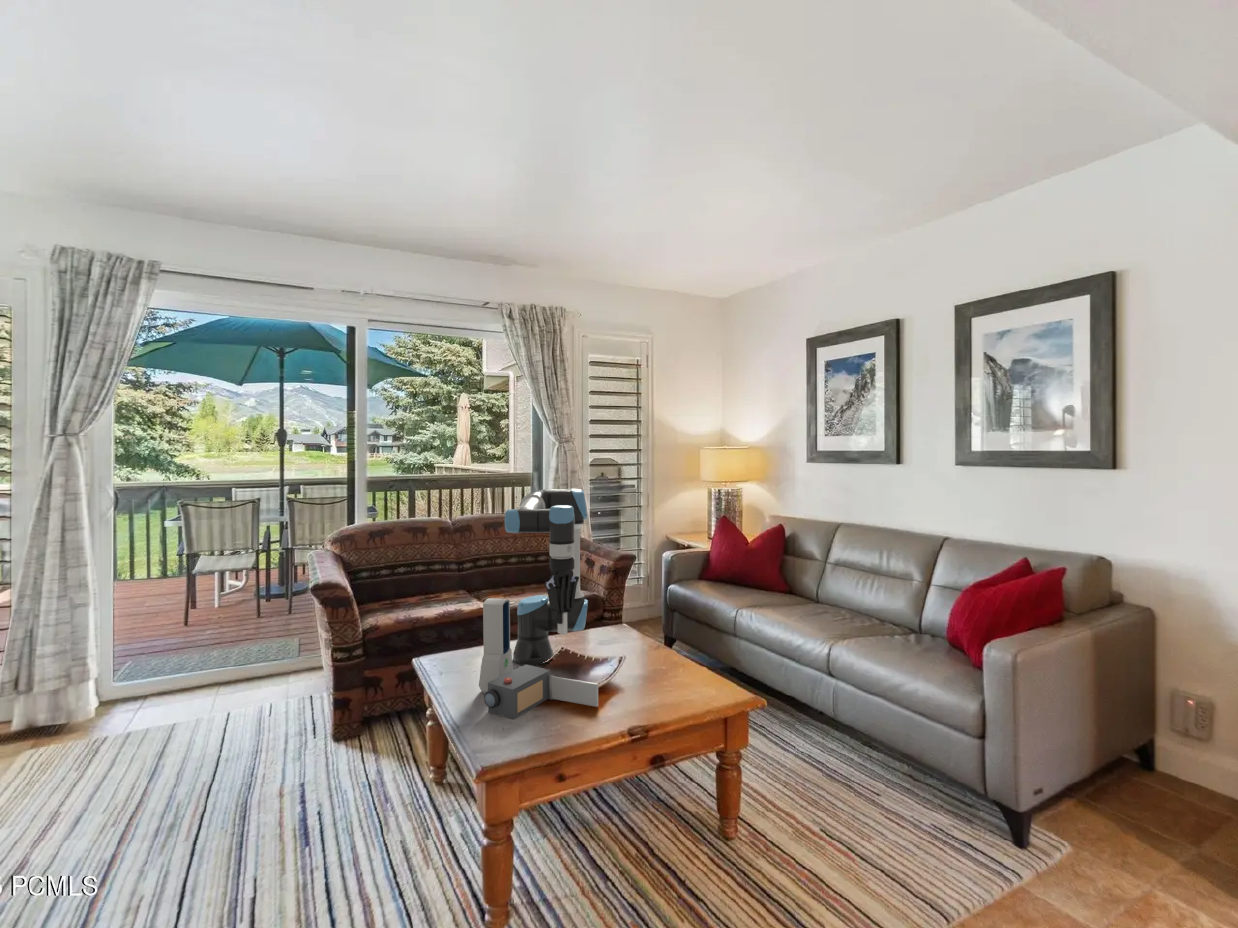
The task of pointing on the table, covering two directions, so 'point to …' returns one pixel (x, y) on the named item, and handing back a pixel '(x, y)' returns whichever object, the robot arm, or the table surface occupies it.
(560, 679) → the grey thin flat plate
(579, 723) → the table surface
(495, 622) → the electronic device
